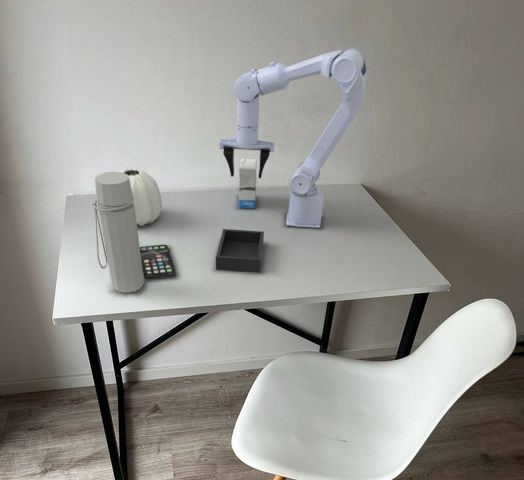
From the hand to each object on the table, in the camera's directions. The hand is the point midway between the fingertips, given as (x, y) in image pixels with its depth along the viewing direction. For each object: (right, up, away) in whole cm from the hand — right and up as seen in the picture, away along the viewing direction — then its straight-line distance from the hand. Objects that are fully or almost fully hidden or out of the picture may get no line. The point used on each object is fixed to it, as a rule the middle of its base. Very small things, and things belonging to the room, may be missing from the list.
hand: (246, 176), depth 143 cm
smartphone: (-21, -27, -17) cm, 39 cm away
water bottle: (-27, -34, -26) cm, 50 cm away
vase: (-30, -12, 0) cm, 32 cm away
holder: (-1, -25, -13) cm, 28 cm away
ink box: (0, -4, +11) cm, 12 cm away
